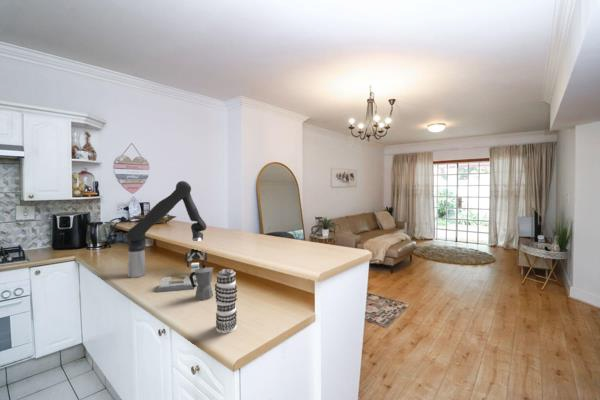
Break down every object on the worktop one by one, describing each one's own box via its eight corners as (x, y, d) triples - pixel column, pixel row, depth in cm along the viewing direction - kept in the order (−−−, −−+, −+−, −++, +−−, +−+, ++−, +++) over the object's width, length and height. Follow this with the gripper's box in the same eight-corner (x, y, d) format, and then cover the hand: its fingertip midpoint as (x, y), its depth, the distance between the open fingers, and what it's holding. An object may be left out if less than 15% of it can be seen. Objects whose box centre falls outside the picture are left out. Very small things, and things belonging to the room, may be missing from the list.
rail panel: (156, 292, 152) (156, 283, 152) (161, 284, 164) (161, 276, 163) (194, 288, 157) (194, 280, 157) (196, 281, 169) (196, 274, 168)
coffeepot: (208, 291, 154) (208, 260, 153) (219, 294, 149) (219, 263, 148) (184, 300, 141) (183, 267, 140) (195, 305, 136) (195, 270, 135)
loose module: (191, 278, 175) (190, 264, 174) (192, 276, 179) (191, 262, 179) (198, 277, 176) (198, 264, 176) (199, 275, 181) (199, 262, 180)
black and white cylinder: (212, 325, 116) (212, 269, 115) (233, 320, 121) (233, 266, 119) (218, 336, 108) (217, 275, 107) (240, 329, 113) (239, 271, 112)
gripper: (185, 243, 184) (183, 264, 174) (207, 242, 188) (206, 262, 177) (186, 249, 189) (184, 270, 179) (208, 248, 193) (207, 268, 183)
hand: (195, 266), depth 178 cm, fingers open, 8 cm apart
